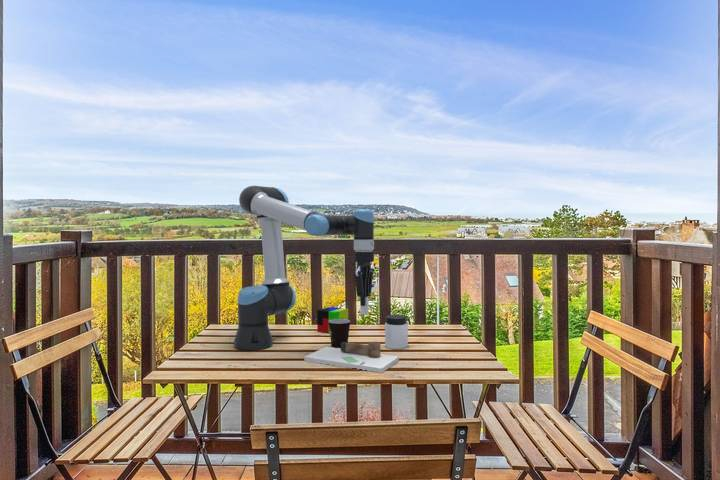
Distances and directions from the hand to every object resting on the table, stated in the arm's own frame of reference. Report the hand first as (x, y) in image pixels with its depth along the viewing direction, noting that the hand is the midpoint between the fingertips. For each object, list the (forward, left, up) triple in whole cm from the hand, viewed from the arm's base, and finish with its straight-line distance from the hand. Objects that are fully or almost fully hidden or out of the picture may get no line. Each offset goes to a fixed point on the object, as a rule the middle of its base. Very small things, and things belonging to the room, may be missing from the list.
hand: (364, 314), depth 169 cm
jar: (+7, +15, -15) cm, 22 cm away
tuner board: (0, -10, -15) cm, 18 cm away
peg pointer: (+1, -6, -13) cm, 15 cm away
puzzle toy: (-29, +27, -15) cm, 43 cm away
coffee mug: (-14, +7, -15) cm, 22 cm away
